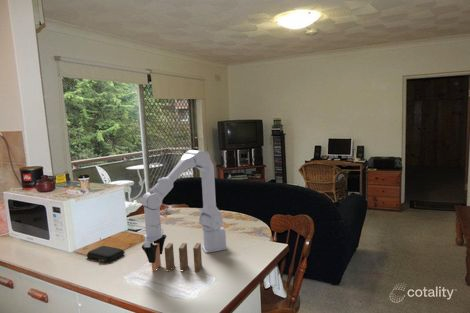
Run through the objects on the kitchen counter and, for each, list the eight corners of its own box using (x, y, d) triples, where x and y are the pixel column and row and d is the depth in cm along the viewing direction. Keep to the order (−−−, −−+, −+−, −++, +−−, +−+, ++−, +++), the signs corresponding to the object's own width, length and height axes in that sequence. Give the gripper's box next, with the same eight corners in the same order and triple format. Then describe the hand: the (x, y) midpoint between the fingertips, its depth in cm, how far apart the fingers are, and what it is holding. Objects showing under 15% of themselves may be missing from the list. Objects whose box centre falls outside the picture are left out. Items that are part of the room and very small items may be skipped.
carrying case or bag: (82, 260, 138) (107, 265, 131) (81, 253, 137) (106, 258, 130) (103, 250, 147) (127, 255, 140) (102, 244, 147) (126, 248, 140)
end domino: (161, 265, 128) (159, 243, 127) (156, 270, 123) (154, 248, 122) (157, 264, 128) (155, 243, 127) (152, 270, 123) (150, 248, 122)
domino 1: (174, 265, 127) (172, 243, 126) (170, 271, 122) (168, 248, 121) (170, 265, 127) (168, 243, 126) (166, 271, 123) (164, 248, 122)
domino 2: (188, 265, 127) (186, 243, 126) (184, 271, 122) (182, 248, 121) (184, 265, 127) (182, 243, 126) (180, 271, 122) (178, 248, 121)
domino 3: (202, 265, 126) (200, 243, 125) (198, 271, 121) (197, 248, 120) (197, 265, 126) (196, 243, 125) (194, 271, 121) (193, 248, 120)
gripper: (150, 218, 131) (153, 250, 133) (134, 230, 117) (138, 266, 119) (167, 218, 130) (169, 250, 132) (153, 230, 116) (156, 266, 118)
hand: (155, 258), depth 125 cm, fingers open, 7 cm apart
